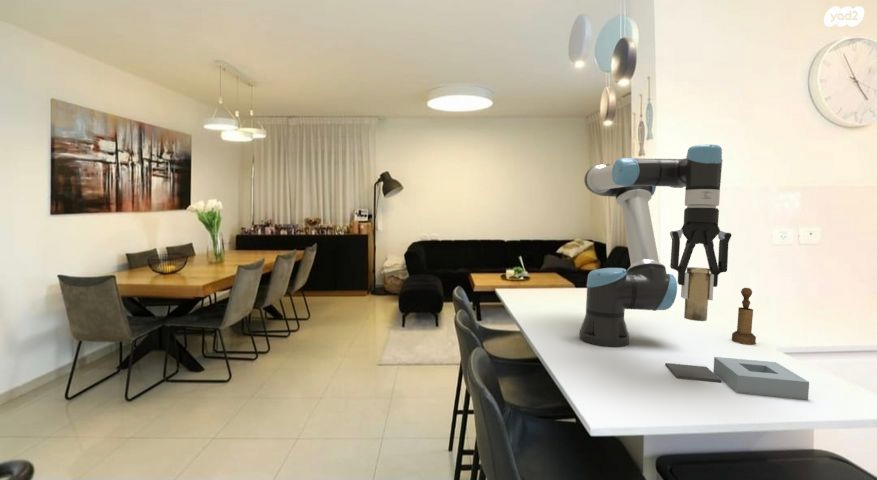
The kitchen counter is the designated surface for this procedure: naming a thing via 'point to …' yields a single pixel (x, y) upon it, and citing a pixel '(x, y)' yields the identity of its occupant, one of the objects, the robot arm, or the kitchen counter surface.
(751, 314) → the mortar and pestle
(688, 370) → the rubber pad
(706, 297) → the tan cylinder
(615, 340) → the robot arm
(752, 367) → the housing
